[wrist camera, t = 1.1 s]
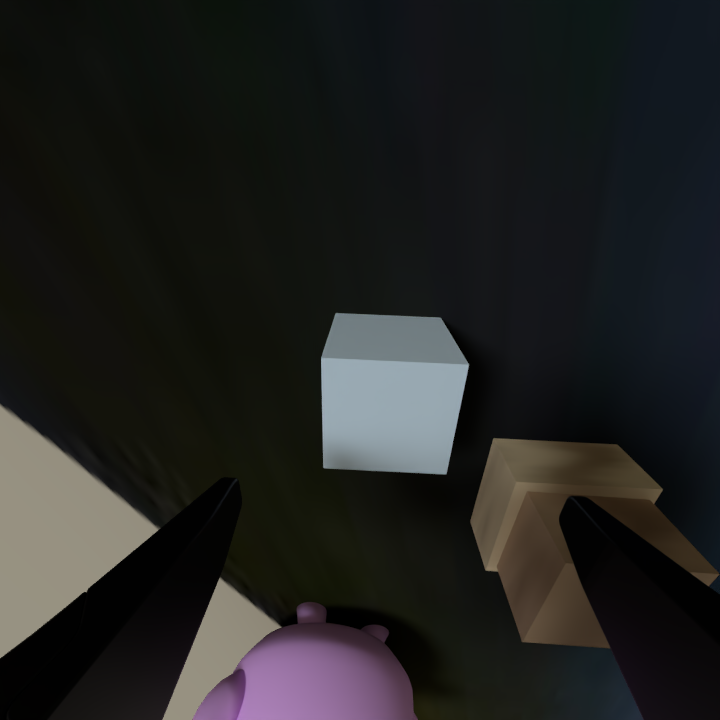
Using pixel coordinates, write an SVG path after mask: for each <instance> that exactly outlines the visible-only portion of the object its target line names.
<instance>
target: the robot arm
mask: <svg viewBox="0 0 720 720" xmlns="http://www.w3.org/2000/svg"><path fill="white" fill-rule="evenodd" d="M241 505H242V496H241V491H240V485H239V481H238V479H237V478H227V477H224V478H221V479H220V480H218V481H217V482H216V483H215V484H214V485H212V486H211V487H210V488H209V489H208V490H206V491H205V492H204V493H203V494H202V495H200V496H199V497H198V498H197V499H196V500H194V501H193V502H192V503H191V504H190V505H188V506H187V507H186V508H185V509H183V510H182V511H181V512H180V513H179V514H177V515H176V516H175V517H174V518H173V519H171V520H170V521H169V522H168V523H167V524H165V525H164V526H163V527H162V528H161V529H159V530H158V531H157V532H156V533H155V534H153V535H152V536H151V537H150V538H149V539H148V540H146V541H145V542H144V543H143V544H141V545H140V546H139V547H138V548H137V549H136V550H134V551H133V552H132V553H131V554H129V555H128V556H127V557H126V558H125V559H123V560H122V561H121V562H120V563H118V564H117V565H116V566H115V567H114V568H112V569H111V570H110V571H109V572H108V573H106V574H105V575H104V576H103V577H102V578H100V579H99V580H98V581H97V582H96V583H94V584H93V585H92V586H91V587H90V588H88V590H87V592H84V593H82V594H81V595H80V596H79V597H78V598H76V599H75V600H74V601H73V602H71V603H70V604H69V605H68V606H67V607H66V608H64V609H63V610H62V611H60V612H59V613H58V614H57V615H55V616H54V617H53V618H52V619H50V620H49V621H48V622H47V623H45V624H44V625H43V626H42V627H41V628H39V629H38V630H37V631H36V632H34V633H33V634H32V635H31V636H29V637H28V638H26V639H25V640H24V641H23V642H21V643H20V644H19V645H17V646H16V647H15V648H13V649H12V650H11V651H9V652H8V653H7V654H5V655H4V656H3V657H1V658H0V720H162V719H163V717H164V714H165V712H166V709H167V707H168V704H169V701H170V699H171V697H172V694H173V692H174V689H175V687H176V684H177V682H178V679H179V677H180V674H181V672H182V669H183V667H184V664H185V662H186V660H187V657H188V654H189V652H190V650H191V647H192V645H193V642H194V640H195V637H196V635H197V632H198V630H199V627H200V625H201V622H202V619H203V617H204V615H205V612H206V610H207V607H208V605H209V602H210V600H211V597H212V595H213V592H214V590H215V587H216V585H217V582H218V580H219V577H220V575H221V572H222V570H223V567H224V564H225V561H226V558H227V554H228V551H229V547H230V544H231V541H232V537H233V534H234V530H235V527H236V523H237V520H238V516H239V513H240V510H241ZM559 524H560V527H561V530H562V533H563V536H564V538H565V541H566V544H567V547H568V550H569V552H570V555H571V558H572V561H573V564H574V566H575V569H576V572H577V575H578V577H579V580H580V582H581V585H582V587H583V590H584V592H585V594H586V596H587V599H588V601H589V603H590V605H591V607H592V609H593V612H594V614H595V616H596V618H597V620H598V622H599V624H600V627H601V629H602V631H603V633H604V635H605V637H606V640H607V642H608V644H609V646H610V648H611V650H612V652H613V655H614V657H615V659H616V661H617V663H618V665H619V668H620V670H621V672H622V674H623V676H624V678H625V680H626V683H627V685H628V687H629V689H630V691H631V693H632V696H633V698H634V700H635V702H636V704H637V706H638V709H639V711H640V713H641V715H642V717H643V719H644V720H720V594H718V593H717V592H716V591H714V590H713V589H711V588H710V587H709V586H707V585H706V584H705V583H703V582H702V581H701V580H699V579H698V578H696V577H695V576H694V575H692V574H691V573H690V572H688V571H687V570H686V569H684V568H683V567H681V566H680V565H679V564H677V563H676V562H675V561H673V560H672V559H671V558H669V557H668V556H667V555H665V554H664V553H662V552H661V551H660V550H658V549H657V548H656V547H654V546H653V545H652V544H650V543H649V542H647V541H646V540H645V539H643V538H642V537H641V536H639V535H638V534H637V533H635V532H634V531H632V530H631V529H630V528H628V527H627V526H626V525H624V524H623V523H622V522H620V521H619V520H618V519H616V518H615V517H613V516H612V515H611V514H609V513H608V512H607V511H605V510H604V509H603V508H601V507H600V506H598V505H597V504H596V503H594V502H593V501H592V500H590V499H589V498H587V497H584V496H569V497H568V498H567V499H566V501H565V504H564V506H563V508H562V510H561V513H560V515H559Z"/></svg>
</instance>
